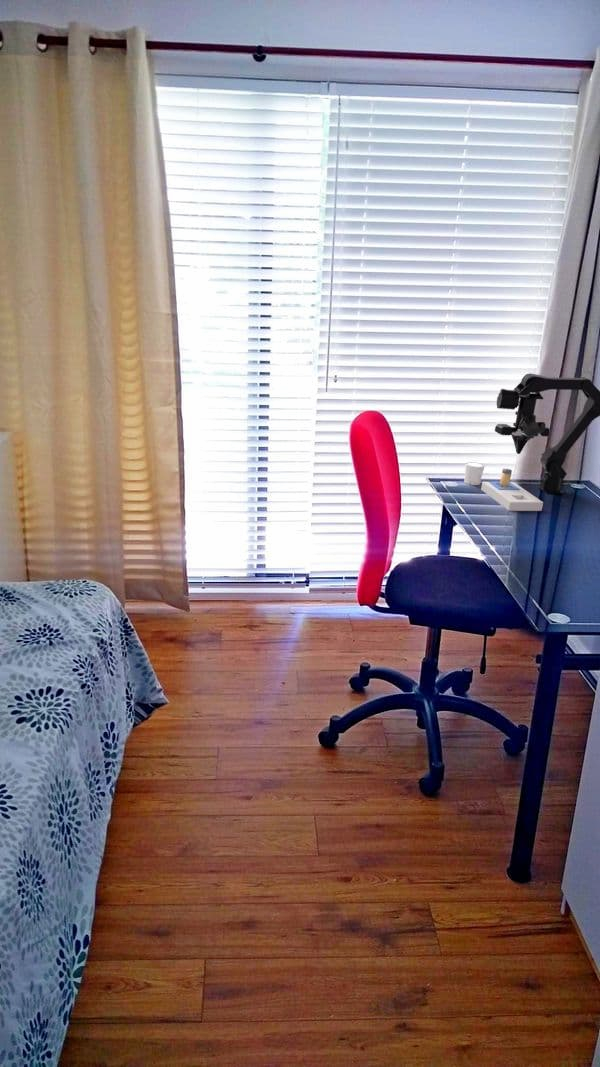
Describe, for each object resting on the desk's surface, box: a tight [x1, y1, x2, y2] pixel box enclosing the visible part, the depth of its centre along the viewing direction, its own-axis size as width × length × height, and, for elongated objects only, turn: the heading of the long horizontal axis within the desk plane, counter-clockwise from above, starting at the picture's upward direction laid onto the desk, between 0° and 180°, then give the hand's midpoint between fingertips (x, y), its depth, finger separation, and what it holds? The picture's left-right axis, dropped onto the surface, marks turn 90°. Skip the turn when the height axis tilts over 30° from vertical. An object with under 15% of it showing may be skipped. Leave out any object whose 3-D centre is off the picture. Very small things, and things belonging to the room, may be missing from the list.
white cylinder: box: [463, 461, 485, 486], centre depth 285 cm, size 7×7×7 cm
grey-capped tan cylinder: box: [499, 468, 513, 487], centre depth 274 cm, size 3×3×9 cm
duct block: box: [480, 481, 544, 512], centre depth 269 cm, size 12×22×3 cm, turn 12°
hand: (518, 453), depth 279 cm, fingers closed
